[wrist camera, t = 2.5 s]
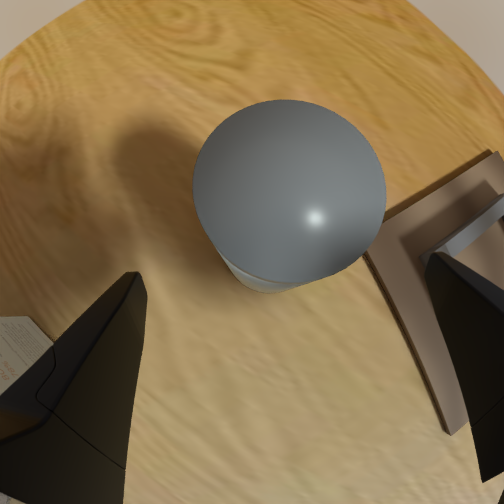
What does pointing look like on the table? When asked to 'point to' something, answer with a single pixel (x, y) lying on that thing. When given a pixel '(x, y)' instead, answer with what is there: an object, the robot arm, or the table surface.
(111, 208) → the table surface
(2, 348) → the small box
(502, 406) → the robot arm
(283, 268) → the grey cylinder
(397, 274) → the jig board
